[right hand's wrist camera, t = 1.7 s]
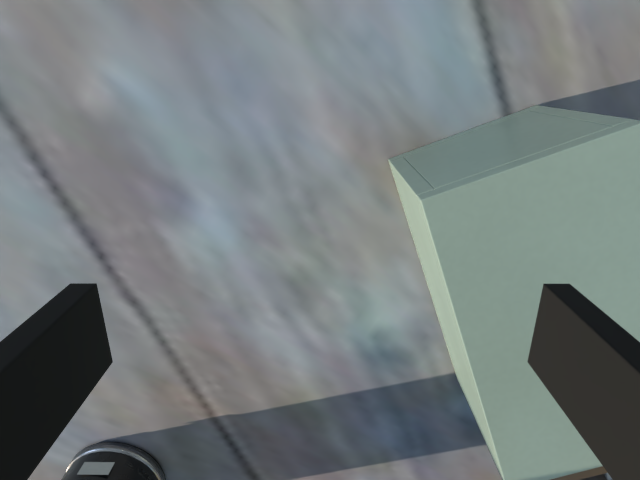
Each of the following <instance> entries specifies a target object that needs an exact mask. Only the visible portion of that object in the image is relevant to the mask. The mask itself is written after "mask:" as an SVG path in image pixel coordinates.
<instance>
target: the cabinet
mask: <svg viewBox="0 0 640 480" xmlns="http://www.w3.org/2000/svg"><path fill="white" fill-rule="evenodd" d="M388 161H389V164H390V168H391V171H392V174H393V177H394V180H395V183H396V187H397V190H398V193H399V196H400V199H401V202H402V206H403V209H404V212H405V215H406V218H407V221H408V225H409V228H410V231H411V234H412V237H413V240H414V244H415V247H416V250H417V253H418V256H419V259H420V263H421V266H422V269H423V272H424V275H425V278H426V282H427V285H428V288H429V291H430V294H431V297H432V301H433V304H434V307H435V310H436V313H437V316H438V319H439V323H440V326H441V329H442V332H443V335H444V338H445V342H446V345H447V348H448V351H449V354H450V357H451V361H452V364H453V367H454V370H455V373H456V376H457V380H458V382H459V384H460V386H461V389H462V391H463V393H464V396H465V398H466V400H467V402H468V404H469V407H470V409H471V411H472V413H473V416H474V418H475V420H476V422H477V425H478V427H479V429H480V431H481V434H482V436H483V438H484V440H485V442H486V445H487V447H488V449H489V451H490V454H491V456H492V458H493V460H494V463H495V465H496V467H497V469H498V472H499V474H500V476H501V478H502V480H550V479H554V478H558V477H562V476H566V475H570V474H574V473H578V472H582V471H586V470H590V469H594V468H598V467H601V466H603V465H602V464H601V463H600V461H599V460H598V459H597V457H596V456H595V454H594V453H593V452H592V450H591V449H590V448H589V446H588V445H587V443H586V442H585V441H584V439H583V438H582V437H581V435H580V434H579V432H578V431H577V430H576V428H575V427H574V426H573V424H572V423H571V421H570V420H569V419H568V417H567V416H566V414H565V413H564V412H563V410H562V409H561V408H560V406H559V405H558V403H557V402H556V401H555V399H554V398H553V397H552V395H551V394H550V392H549V391H548V390H547V388H546V387H545V386H544V384H543V383H542V381H541V380H540V379H539V377H538V376H537V374H536V373H535V372H534V370H533V369H532V368H531V366H530V365H529V363H528V362H527V361H528V357H529V352H530V347H531V342H532V337H533V332H534V327H535V323H536V318H537V313H538V308H539V303H540V298H541V293H542V288H543V284H571V285H572V286H573V287H574V288H575V289H577V290H578V291H579V292H580V293H581V294H583V295H584V296H585V297H586V298H587V299H589V300H590V301H591V302H592V303H593V304H595V305H596V306H597V307H598V308H599V309H601V310H602V311H603V312H604V313H605V314H607V315H608V316H609V317H610V318H611V319H613V320H614V321H615V322H616V323H617V324H619V325H620V326H621V327H622V328H623V329H625V330H626V331H627V332H628V333H629V334H631V335H632V336H633V337H634V338H635V339H637V340H638V341H639V342H640V120H633V119H628V118H621V117H615V116H608V115H601V114H594V113H587V112H581V111H574V110H567V109H560V108H553V107H546V106H539V105H535V106H532V107H530V108H527V109H524V110H521V111H519V112H516V113H513V114H510V115H508V116H505V117H502V118H500V119H497V120H494V121H491V122H489V123H486V124H483V125H480V126H478V127H475V128H472V129H469V130H467V131H464V132H461V133H458V134H456V135H453V136H450V137H447V138H445V139H442V140H439V141H437V142H434V143H431V144H428V145H426V146H423V147H420V148H417V149H415V150H412V151H409V152H406V153H404V154H401V155H398V156H395V157H393V158H390V159H388Z"/></svg>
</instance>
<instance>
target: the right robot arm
mask: <svg viewBox="0 0 640 480" xmlns="http://www.w3.org/2000/svg"><path fill="white" fill-rule="evenodd" d="M112 362H113V361H112V357H111V352H110V347H109V342H108V337H107V332H106V327H105V323H104V318H103V313H102V308H101V303H100V298H99V293H98V288H97V284H69V285H68V286H67V287H66V288H65V289H63V290H62V291H61V292H60V293H59V294H57V295H56V296H55V297H54V298H53V299H51V300H50V301H49V302H48V303H47V304H45V305H44V306H43V307H42V308H41V309H39V310H38V311H37V312H36V313H35V314H33V315H32V316H31V317H30V318H29V319H27V320H26V321H25V322H24V323H23V324H21V325H20V326H19V327H18V328H17V329H15V330H14V331H13V332H12V333H11V334H9V335H8V336H7V337H6V338H5V339H3V340H2V341H1V342H0V480H27V479H28V478H29V477H30V475H31V474H32V472H33V471H34V470H35V468H36V467H37V465H38V464H39V463H40V461H41V460H42V459H43V457H44V456H45V454H46V453H47V452H48V450H49V449H50V448H51V446H52V445H53V443H54V442H55V441H56V439H57V438H58V437H59V435H60V434H61V432H62V431H63V430H64V428H65V427H66V425H67V424H68V423H69V421H70V420H71V419H72V417H73V416H74V414H75V413H76V412H77V410H78V409H79V408H80V406H81V405H82V403H83V402H84V401H85V399H86V398H87V397H88V395H89V394H90V392H91V391H92V390H93V388H94V387H95V386H96V384H97V383H98V381H99V380H100V379H101V377H102V376H103V374H104V373H105V372H106V370H107V369H108V368H109V366H110V365H111V363H112ZM527 362H528V363H529V365H530V366H531V368H532V369H533V370H534V372H535V373H536V374H537V376H538V377H539V379H540V380H541V381H542V383H543V384H544V386H545V387H546V388H547V390H548V391H549V392H550V394H551V395H552V397H553V398H554V399H555V401H556V402H557V403H558V405H559V406H560V408H561V409H562V410H563V412H564V413H565V414H566V416H567V417H568V419H569V420H570V421H571V423H572V424H573V426H574V427H575V428H576V430H577V431H578V432H579V434H580V435H581V437H582V438H583V439H584V441H585V442H586V443H587V445H588V446H589V448H590V449H591V450H592V452H593V453H594V454H595V456H596V457H597V459H598V460H599V461H600V463H601V464H602V465H603V467H604V468H605V470H606V471H607V472H608V474H609V475H610V477H611V478H612V479H613V480H640V342H639V341H638V340H637V339H635V338H634V337H633V336H632V335H631V334H629V333H628V332H627V331H626V330H625V329H623V328H622V327H621V326H620V325H619V324H617V323H616V322H615V321H614V320H613V319H611V318H610V317H609V316H608V315H607V314H605V313H604V312H603V311H602V310H601V309H599V308H598V307H597V306H596V305H595V304H593V303H592V302H591V301H590V300H589V299H587V298H586V297H585V296H584V295H583V294H581V293H580V292H579V291H578V290H577V289H575V288H574V287H573V286H572V285H571V284H543V288H542V293H541V298H540V303H539V308H538V313H537V318H536V323H535V327H534V332H533V337H532V342H531V347H530V352H529V357H528V361H527Z"/></svg>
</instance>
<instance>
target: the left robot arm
mask: <svg viewBox="0 0 640 480" xmlns="http://www.w3.org/2000/svg"><path fill="white" fill-rule="evenodd" d="M61 480H165V476H164V473H163V471H162V469H161V467H160V466H159V464H158V463H157V462H156V461H155V460H154V459H153V458H152V457H151V456H150V455H148V454H147V453H146V452H144V451H142V450H140V449H138V448H136V447H133V446H130V445H127V444H123V443H115V442H104V443H98V444H94V445H91V446H88V447H86V448H84V449H83V450H81V451H80V452H79V453H78V454H77V455H76V456H75V457H74V459H73V460H72V462H71V463H70V465H69V466H68V468H67V470H66V473H65V475H64V476H63V478H62V479H61Z"/></svg>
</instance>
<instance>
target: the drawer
mask: <svg viewBox="0 0 640 480" xmlns="http://www.w3.org/2000/svg"><path fill="white" fill-rule="evenodd" d="M550 480H613V479H612V478H611V477H610V475H609V474H608V472H607V471H606V470H605V468H604V467H603V466H601V467H598V468H594V469H590V470H586V471H582V472H578V473H574V474H570V475H566V476H562V477H558V478H554V479H550Z"/></svg>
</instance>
